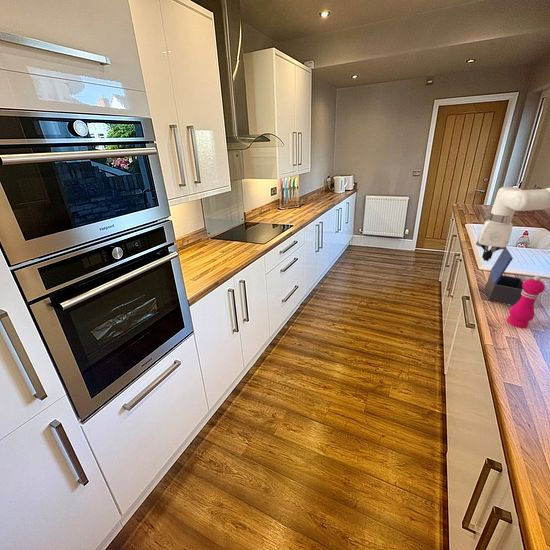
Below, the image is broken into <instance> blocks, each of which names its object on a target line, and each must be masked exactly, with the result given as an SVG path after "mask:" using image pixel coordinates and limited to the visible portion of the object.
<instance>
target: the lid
mask: <svg viewBox="0 0 550 550" xmlns="http://www.w3.org/2000/svg"><path fill="white" fill-rule="evenodd" d="M513 260H514V257H513V256H512V254H511V252H510V251H509V250H508V247H506V249H502V251H501V253H500V254H499V256H498V258H497V259H496V261H495V262H494V264H493V266H492V267H491V269H490V271H489V275H490V274H491V277H492V279H493V282H494V284H497V282H498V281H499V279H500V278H501V276H502V275H504V273H505V271H506V270H507V269H508V267H509V265H510V264H511V262H512V261H513Z"/></svg>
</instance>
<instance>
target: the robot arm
mask: <svg viewBox="0 0 550 550" xmlns="http://www.w3.org/2000/svg"><path fill="white" fill-rule="evenodd" d="M547 209H550V186H549V187H546V188H541V189H521V188H519V187H515V186H502V187H500V188H498V190H497V193H496V196H495V199H494V202H493V205H492V208H491V211H490V213H486V214H485V216H484V218H486V220H485V221H484V224H483V225H482V228H481V230H480V232H479V234H478V238H477V241H476V242H475V245H476V247H480V248H482V250H483V253H482V256H481V258H482V259H483V261H484V262H489V261H490V260H491V259H492V257H493V255H494V253H495V252H497V251H499V250H504V249H506V248H507V246H508V245H509V242H510V238H511V235H512V231H513V227H514V226H513V225H514V223H512V220H513V217H514V215H515V212H516V211H518V212H527V211H541V210H547ZM489 247H490V249H489Z"/></svg>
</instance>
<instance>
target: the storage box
mask: <svg viewBox="0 0 550 550" xmlns="http://www.w3.org/2000/svg"><path fill="white" fill-rule="evenodd" d="M524 282H525V281H524V280H523V278H521V277H516V276H509V275H504V274H503V275H502V276H501V278H500V279H499V281H498V282H497V284H494V282H493V279H492V277H491V274H490V273H489V275H488V278H487V281H486V284H485V286H484V290H485V293H486V296H487V300H488V302H492V301H493V302H492V303H497V302H499V303H498V304H502V303H505V304H504V305H507V304H510V305H509V306H512V305H514V304H516V303H517V302H518V301H519V300H520V298H521V296H522V294H521V292H522V290H524V289H523V287H522V285H523V283H524Z"/></svg>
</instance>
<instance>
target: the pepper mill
mask: <svg viewBox="0 0 550 550" xmlns="http://www.w3.org/2000/svg"><path fill="white" fill-rule="evenodd" d="M523 282H524V283H523V285H522V287H523V289H524V290H522V292H521V294H522V296H521V298H520V300H519V301H518V302H517V303H516V304H514V305H513V306H512V305H511V307H510V309H509V311H508V313H509V315H508V317H507V320H506V321H507V323H508V324H510V325H511V326H513V327H516V328H520V329H526V328H528V327H529V325H530V322H532V321H533V320H534V318H535V308H534V306H535V302H536V300H537V299H539V297H540V295H541V294H542V293H543V292H544V291H545V289H546V285H545V284H544V282H543V281H541V276H539V275H535V276H534V277H533V278H529V279H526V280H524V281H523Z"/></svg>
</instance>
